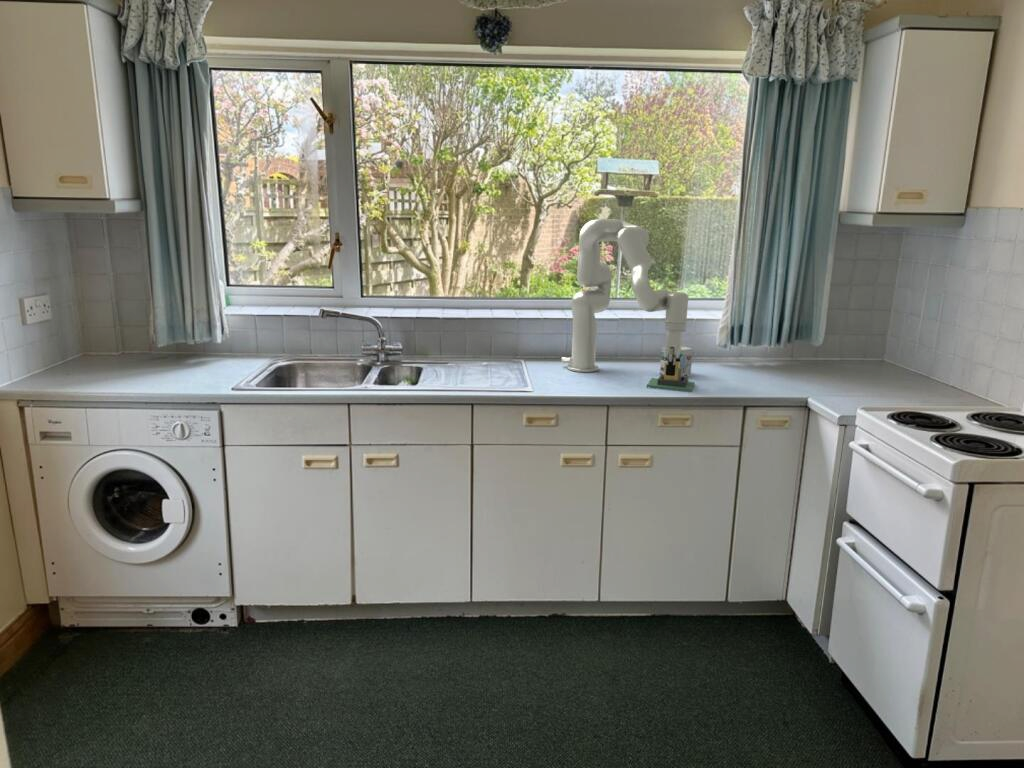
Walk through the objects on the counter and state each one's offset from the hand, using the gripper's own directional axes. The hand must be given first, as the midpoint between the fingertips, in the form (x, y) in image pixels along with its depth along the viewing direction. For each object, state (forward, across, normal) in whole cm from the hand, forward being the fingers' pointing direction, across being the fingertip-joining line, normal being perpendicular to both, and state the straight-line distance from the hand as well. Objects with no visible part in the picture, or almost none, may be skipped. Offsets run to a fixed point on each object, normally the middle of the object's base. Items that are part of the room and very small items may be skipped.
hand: (671, 372), depth 268 cm
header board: (+5, 0, 0) cm, 5 cm away
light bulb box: (+5, -20, -1) cm, 21 cm away
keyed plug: (+4, 0, 0) cm, 4 cm away
